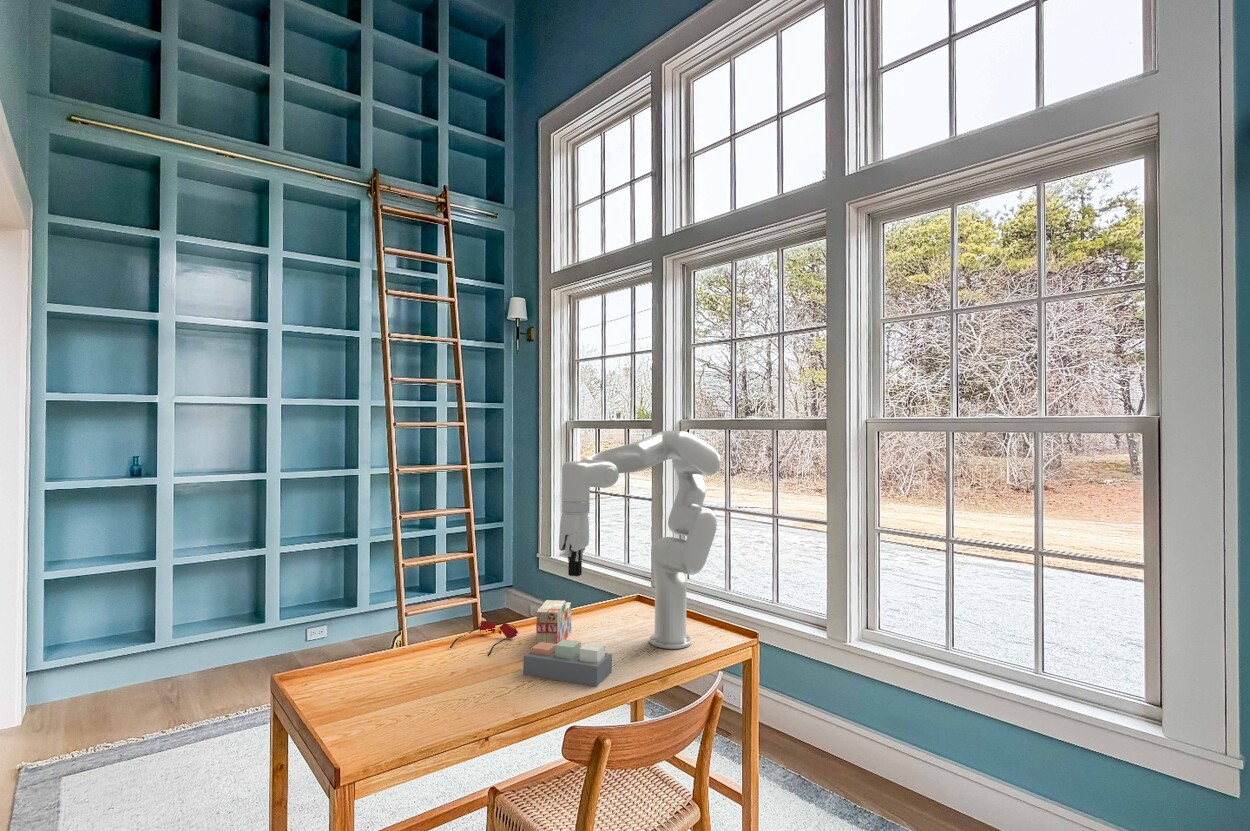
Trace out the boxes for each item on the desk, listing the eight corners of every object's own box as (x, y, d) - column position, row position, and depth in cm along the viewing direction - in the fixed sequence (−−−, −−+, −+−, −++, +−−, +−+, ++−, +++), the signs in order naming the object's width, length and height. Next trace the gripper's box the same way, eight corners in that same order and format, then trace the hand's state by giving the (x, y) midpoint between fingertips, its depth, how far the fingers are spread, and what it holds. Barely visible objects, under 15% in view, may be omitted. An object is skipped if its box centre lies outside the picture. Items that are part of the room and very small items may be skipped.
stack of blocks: (552, 630, 212) (552, 592, 212) (571, 631, 211) (571, 592, 211) (535, 654, 190) (536, 611, 190) (557, 655, 190) (557, 611, 190)
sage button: (563, 657, 178) (563, 639, 178) (580, 660, 177) (580, 641, 177) (555, 664, 174) (555, 645, 174) (572, 666, 172) (572, 647, 172)
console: (541, 662, 184) (541, 643, 184) (611, 672, 176) (611, 653, 176) (523, 674, 174) (523, 655, 174) (596, 686, 167) (597, 666, 167)
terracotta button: (540, 660, 181) (540, 641, 181) (556, 662, 179) (556, 644, 179) (531, 666, 176) (531, 647, 176) (548, 669, 174) (548, 650, 174)
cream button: (587, 661, 176) (587, 642, 176) (604, 664, 174) (604, 644, 174) (579, 667, 171) (579, 648, 171) (597, 670, 170) (597, 651, 170)
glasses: (518, 640, 203) (519, 623, 203) (488, 658, 188) (488, 640, 188) (480, 634, 208) (480, 618, 208) (447, 651, 193) (447, 634, 193)
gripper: (574, 503, 188) (574, 568, 187) (550, 510, 174) (549, 580, 173) (599, 504, 185) (598, 570, 185) (576, 511, 171) (575, 583, 171)
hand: (575, 575), depth 179 cm, fingers closed
